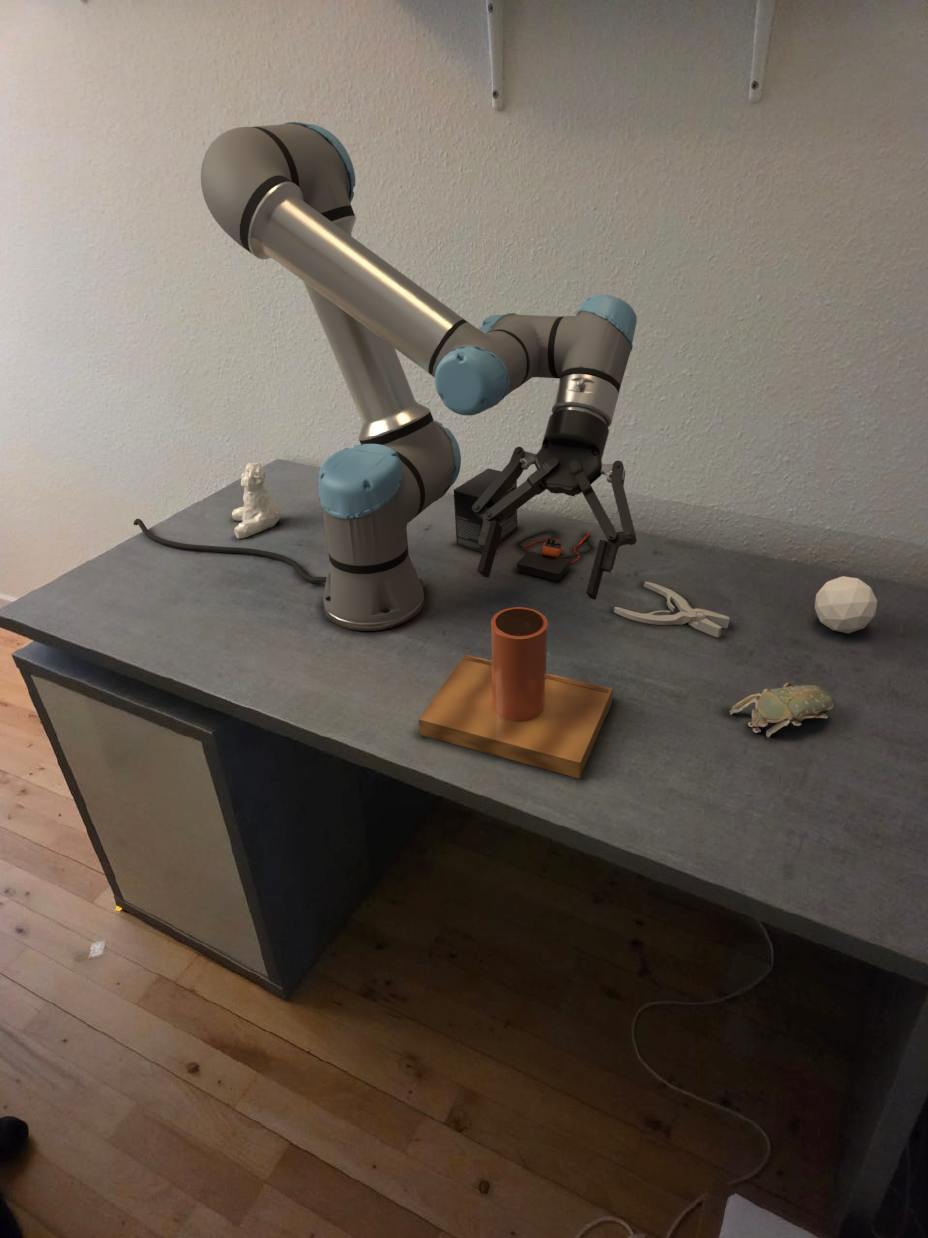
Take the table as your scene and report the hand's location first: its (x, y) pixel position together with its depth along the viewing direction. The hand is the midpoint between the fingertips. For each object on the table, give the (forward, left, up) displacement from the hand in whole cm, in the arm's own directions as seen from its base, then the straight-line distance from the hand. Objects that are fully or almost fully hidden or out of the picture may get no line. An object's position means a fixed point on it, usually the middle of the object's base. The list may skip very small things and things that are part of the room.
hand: (535, 585), depth 94 cm
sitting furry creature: (-62, +26, -16) cm, 69 cm away
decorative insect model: (+30, +5, -16) cm, 34 cm away
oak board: (0, -7, -16) cm, 17 cm away
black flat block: (-9, +35, -16) cm, 40 cm away
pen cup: (0, -7, -13) cm, 15 cm away
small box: (-21, +36, -16) cm, 45 cm away
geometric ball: (+36, +28, -16) cm, 48 cm away
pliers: (+14, +23, -16) cm, 31 cm away
